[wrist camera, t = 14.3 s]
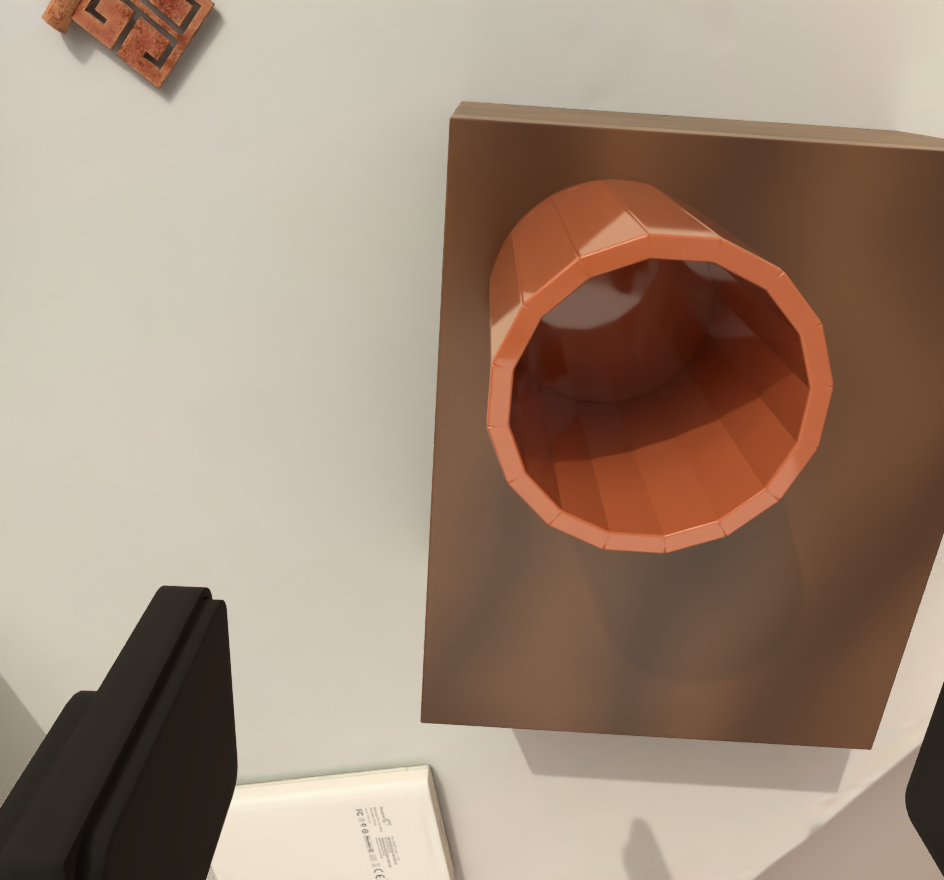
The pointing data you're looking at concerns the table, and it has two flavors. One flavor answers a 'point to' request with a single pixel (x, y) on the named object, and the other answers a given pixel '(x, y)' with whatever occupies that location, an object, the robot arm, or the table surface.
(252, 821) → the hard drive
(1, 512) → the table surface
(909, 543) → the dark wooden box
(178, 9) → the key
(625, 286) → the cup
